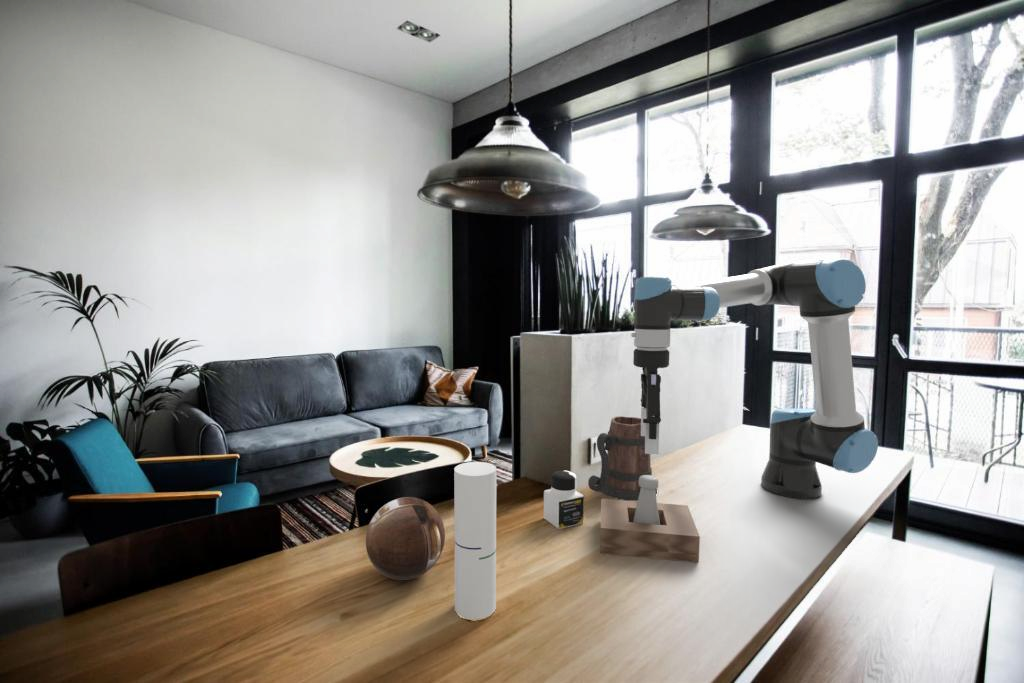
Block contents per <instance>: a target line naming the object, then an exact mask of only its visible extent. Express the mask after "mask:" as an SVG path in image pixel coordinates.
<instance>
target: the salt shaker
mask: <svg viewBox="0 0 1024 683" xmlns="http://www.w3.org/2000/svg"><path fill="white" fill-rule="evenodd" d="M639 486H640V487H641V489H640V494H639V498H638V501H637V502H638V503H637V507H636V511H635V516H634V520H633V523H644V524H656V525H660V520H659V513H658V507H657V503H658V501H657V496H656V493H655V489H657V490H658V488H659V479H658V478H657V477H656V476H654V475H652V476H651V475H642V476H640V478H639Z"/></svg>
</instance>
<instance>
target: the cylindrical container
mask: <svg viewBox="0 0 1024 683" xmlns="http://www.w3.org/2000/svg"><path fill="white" fill-rule="evenodd" d="M453 470H454V474H453V476H454V478H453V480H454V484H453V485H454V489H453V490H454V492H453V494H454V502H453V503H454V505H453V509H454V512H453V513H454V514H453V515H454V516H453V517H454V527H453V528H454V612H455V611H456V612H457V613H458V614H459V615H461V616H462V617H464V618H467V619H475V620H476V619H481V618H485V617H487V616H490V615H491V614H492V613H493V612H494V611H495V609H496V610H497V466H496V465H495V464H492V463H489V462H483V461H469V462H468V461H467V462H463V463H459V464H458V465H456V466H455V467H454V468H453ZM495 612H496V611H495Z"/></svg>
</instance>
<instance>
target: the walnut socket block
mask: <svg viewBox="0 0 1024 683" xmlns="http://www.w3.org/2000/svg"><path fill="white" fill-rule="evenodd" d="M600 502H601V503H600V504H601V506H600V533H599V536H600V539H599V553H600V554H607V553H608V554H609V555H619V556H621V555H622V556H627V555H628V556H631V557H640V558H648V559H649V558H650V559H661V560H670V561H681V562H690V563H692V562H693V563H699V562H700V539H701V536H700V534H699V531H698V529H697V526H696V523H695V521H694V518H693V516H692V513H691V511H690V507H689V505H687V504H685V505H684V504H672V503H661V502H657V507H658V513H659V520H660V525H656V524H644V523H633V520H634V516H635V511H636V507H637V503H638V501H627V500H620V499H612V498H610V499H609V498H608V499H607V498H601V501H600Z"/></svg>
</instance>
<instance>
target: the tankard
mask: <svg viewBox="0 0 1024 683" xmlns="http://www.w3.org/2000/svg"><path fill="white" fill-rule="evenodd" d="M596 447H597V448H596V449H597V450H598V454H599V455H600V460H601V461H600V462H601V468H600V470H601V471H600V476H597V475H594V474H593V475H591V476H590V477H589V478H588V482H587V483H588V488H589V489H590V490H591V491H594V492H595V493H601V494H603V495H605V496H607V497H608V498H611V499H615V498H617V499H616V500H620V499H623V500H624V501H627V500H638V498H639V494H640V489H641V487H640V486H639V478H640V476H642V475H651V476H653V475H652V474H653V470H652V467H651V454H645V436H641V417H635V416H633V417H631V416H619V415H618V416H614V417H612V418H611V420H610V425H609V430H608V431H607V433H605V432H601V433H600V434H599V435H598V436H597V439H596ZM657 490H658V488H657V489H655V493H656V494H657Z"/></svg>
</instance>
